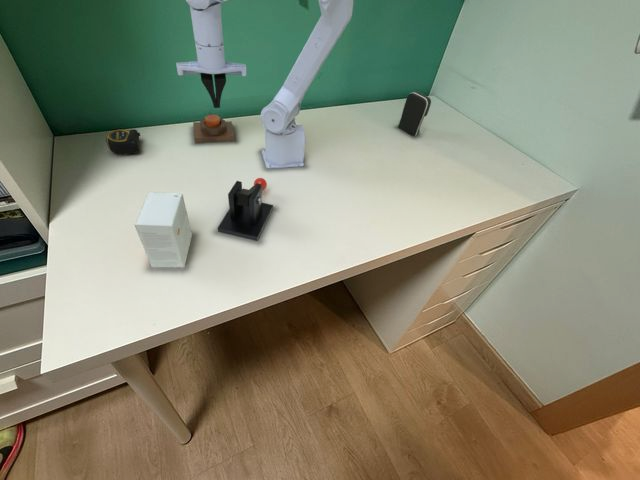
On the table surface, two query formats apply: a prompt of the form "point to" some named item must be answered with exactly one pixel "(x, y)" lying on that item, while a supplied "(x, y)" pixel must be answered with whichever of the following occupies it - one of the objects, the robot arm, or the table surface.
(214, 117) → the button
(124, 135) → the tape measure
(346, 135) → the table surface
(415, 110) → the battery charger
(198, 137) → the button block
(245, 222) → the lever bracket
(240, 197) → the lever
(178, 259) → the small box
